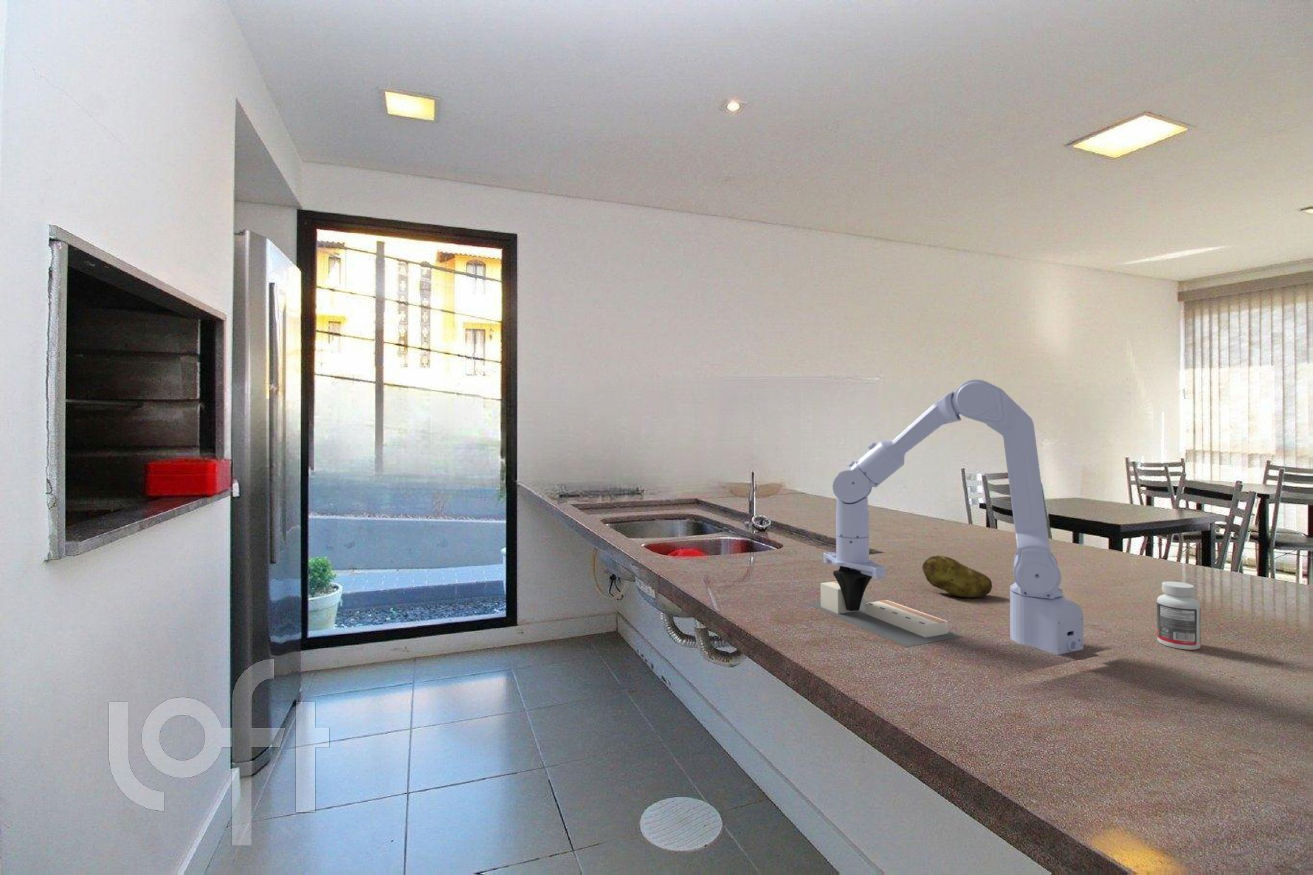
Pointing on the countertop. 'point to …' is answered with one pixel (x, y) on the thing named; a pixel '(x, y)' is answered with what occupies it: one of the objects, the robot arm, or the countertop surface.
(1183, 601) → the pill bottle
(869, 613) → the cream striped bar
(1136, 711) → the countertop surface
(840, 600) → the stub
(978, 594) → the potato
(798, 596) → the countertop surface
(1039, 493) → the robot arm
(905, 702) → the countertop surface
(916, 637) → the mat
